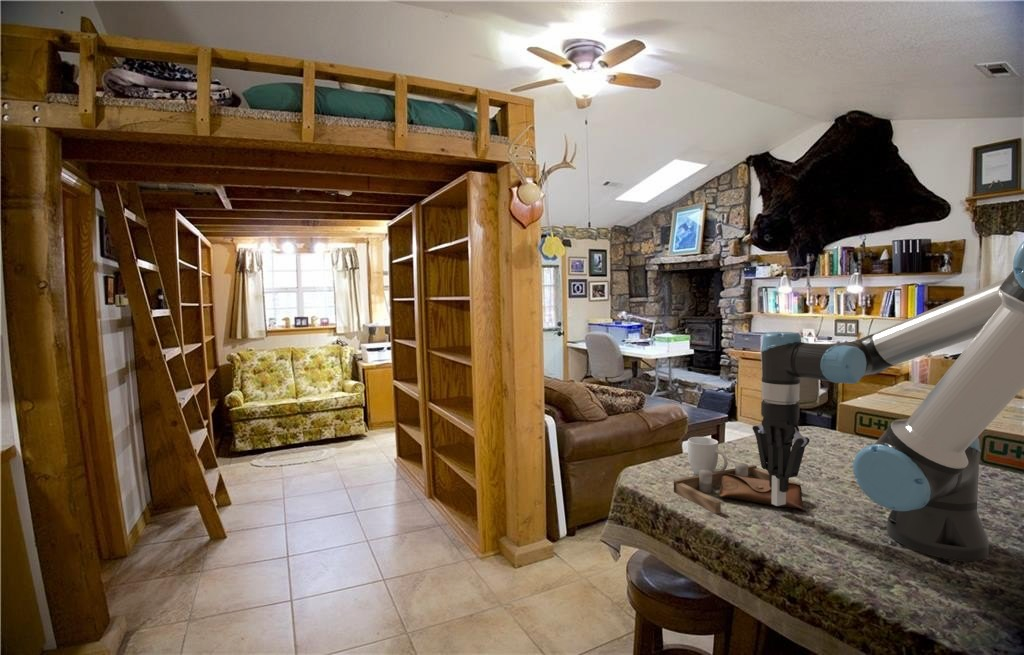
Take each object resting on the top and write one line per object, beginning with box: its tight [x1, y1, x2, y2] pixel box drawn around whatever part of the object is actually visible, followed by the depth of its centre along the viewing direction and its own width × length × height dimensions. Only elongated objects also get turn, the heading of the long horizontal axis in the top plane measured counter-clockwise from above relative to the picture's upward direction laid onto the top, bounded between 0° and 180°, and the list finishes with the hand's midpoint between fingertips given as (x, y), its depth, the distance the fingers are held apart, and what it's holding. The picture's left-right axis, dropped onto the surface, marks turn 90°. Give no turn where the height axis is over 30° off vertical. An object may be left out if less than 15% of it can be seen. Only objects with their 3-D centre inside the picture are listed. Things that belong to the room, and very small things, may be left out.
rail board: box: [673, 462, 802, 514], centre depth 122 cm, size 14×27×5 cm, turn 112°
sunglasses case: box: [719, 474, 804, 510], centre depth 117 cm, size 18×7×7 cm
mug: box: [687, 436, 728, 476], centre depth 134 cm, size 11×8×9 cm
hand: (778, 503), depth 111 cm, fingers closed
